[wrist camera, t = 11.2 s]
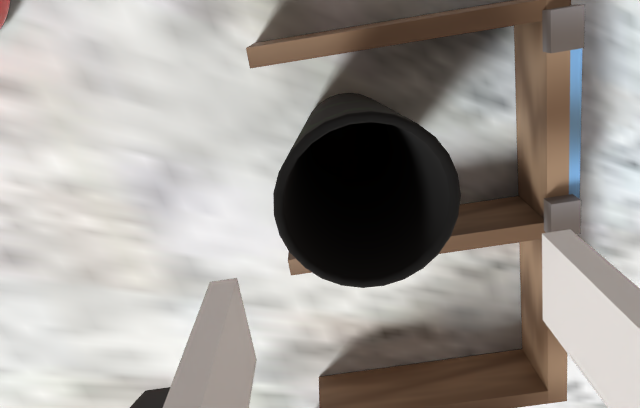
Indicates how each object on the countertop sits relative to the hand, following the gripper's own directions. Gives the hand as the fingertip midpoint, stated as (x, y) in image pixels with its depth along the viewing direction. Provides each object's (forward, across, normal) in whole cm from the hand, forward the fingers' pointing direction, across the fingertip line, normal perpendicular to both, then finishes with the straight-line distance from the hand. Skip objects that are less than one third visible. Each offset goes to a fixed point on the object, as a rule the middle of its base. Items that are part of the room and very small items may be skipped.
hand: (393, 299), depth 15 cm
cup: (+20, 0, 0) cm, 20 cm away
